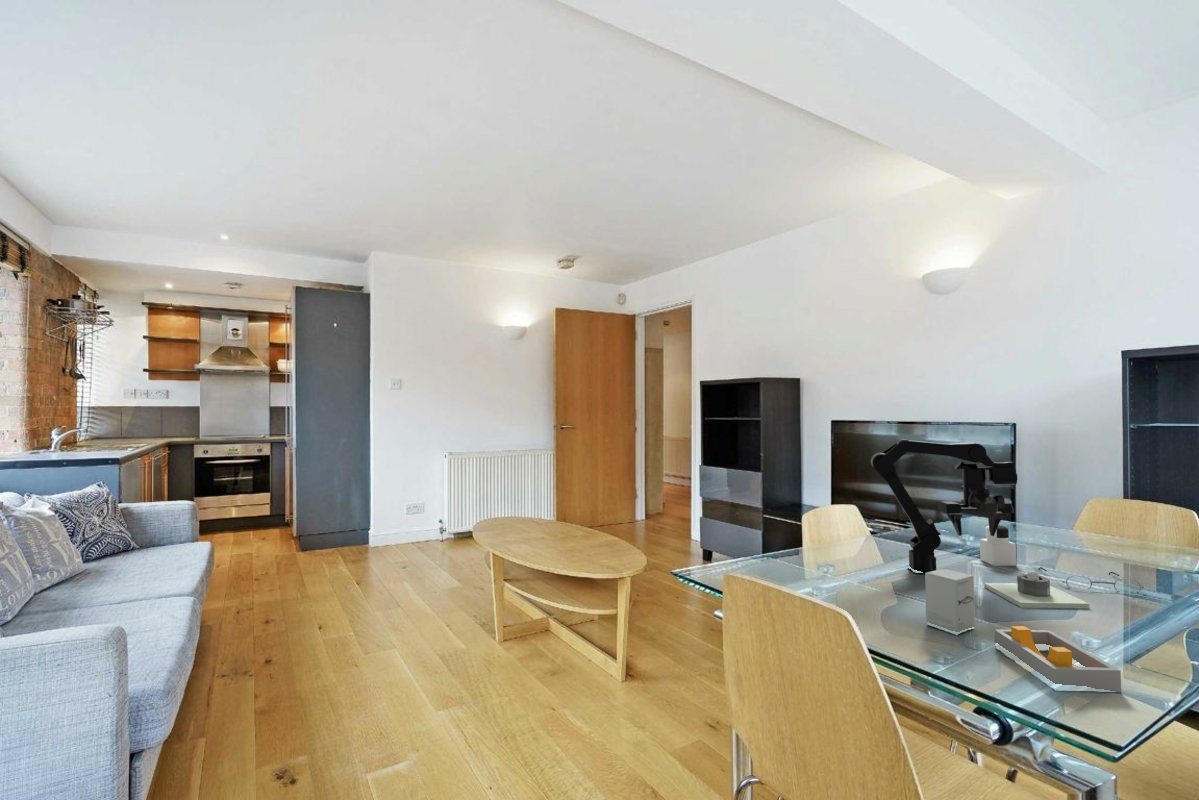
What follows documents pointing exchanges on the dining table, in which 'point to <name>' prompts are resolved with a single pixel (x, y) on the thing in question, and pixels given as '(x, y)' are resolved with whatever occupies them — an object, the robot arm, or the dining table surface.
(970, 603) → the supplement box
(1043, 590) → the hub ring
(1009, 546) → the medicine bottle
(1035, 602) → the post board
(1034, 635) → the parts frame
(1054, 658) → the pipe clamp
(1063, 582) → the eyeglasses
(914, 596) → the dining table surface
